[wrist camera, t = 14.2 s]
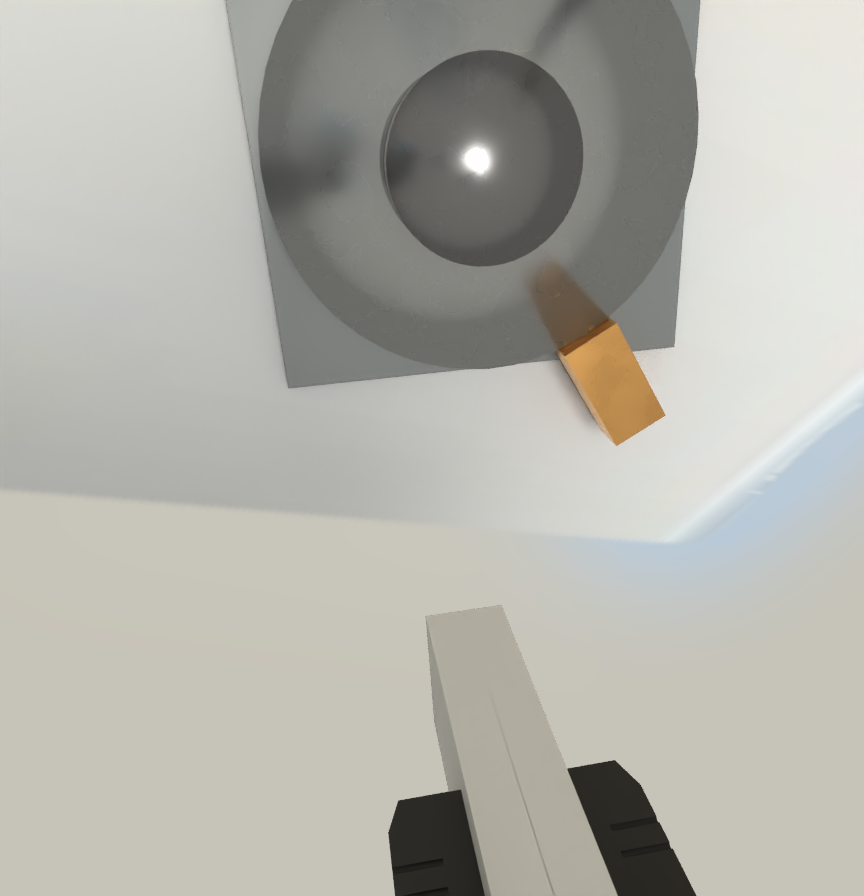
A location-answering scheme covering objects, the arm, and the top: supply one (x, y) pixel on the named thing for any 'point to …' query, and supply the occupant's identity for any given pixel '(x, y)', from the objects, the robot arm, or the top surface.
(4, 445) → the top surface
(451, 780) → the robot arm
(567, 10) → the turntable
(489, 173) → the dark grey bowl
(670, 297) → the base plate
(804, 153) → the top surface
